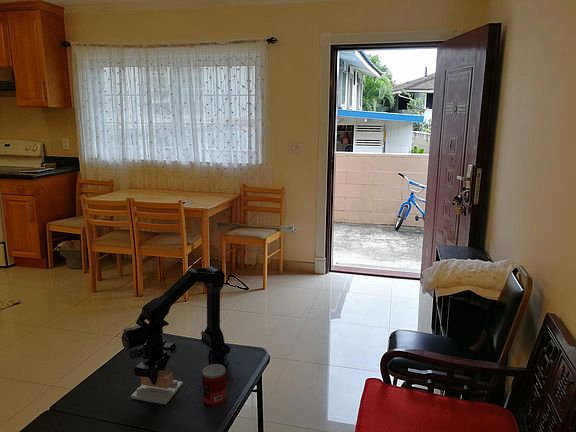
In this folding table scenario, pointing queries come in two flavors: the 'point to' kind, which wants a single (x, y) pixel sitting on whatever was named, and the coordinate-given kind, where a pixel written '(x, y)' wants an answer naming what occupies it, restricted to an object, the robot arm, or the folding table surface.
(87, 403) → the folding table surface
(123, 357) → the folding table surface
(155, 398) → the deck plate
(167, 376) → the chute block
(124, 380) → the folding table surface
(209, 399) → the canned food
